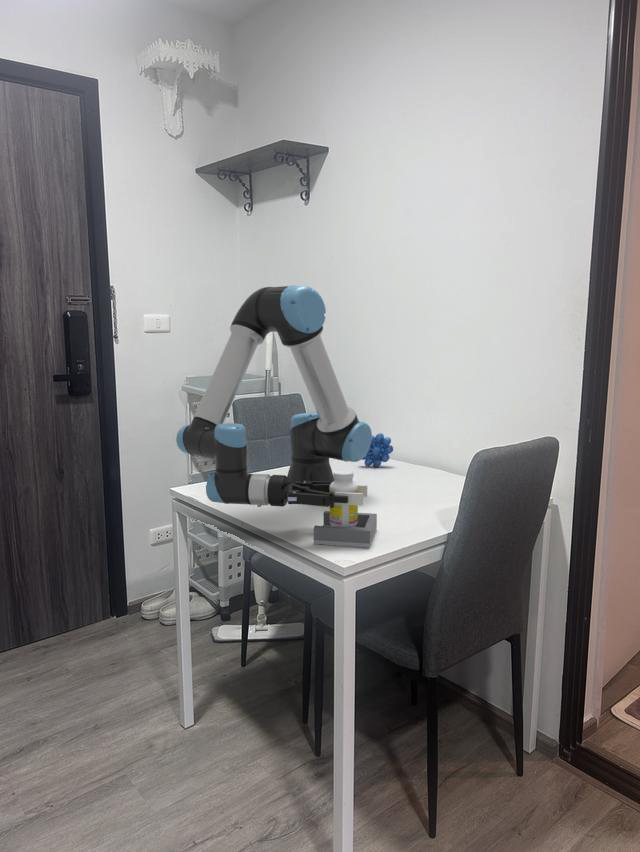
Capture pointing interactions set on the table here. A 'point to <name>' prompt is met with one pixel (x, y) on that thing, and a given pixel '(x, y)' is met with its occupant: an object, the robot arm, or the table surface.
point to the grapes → (378, 450)
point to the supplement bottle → (340, 512)
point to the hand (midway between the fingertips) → (365, 495)
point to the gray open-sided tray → (347, 532)
